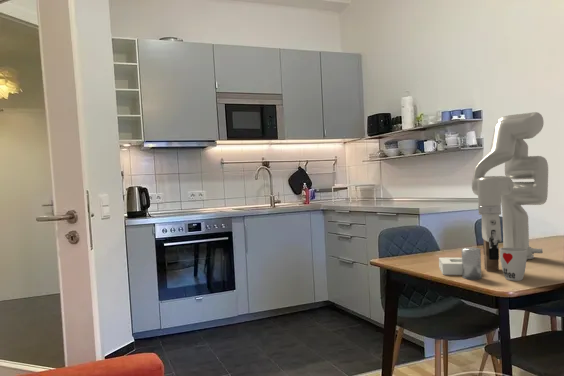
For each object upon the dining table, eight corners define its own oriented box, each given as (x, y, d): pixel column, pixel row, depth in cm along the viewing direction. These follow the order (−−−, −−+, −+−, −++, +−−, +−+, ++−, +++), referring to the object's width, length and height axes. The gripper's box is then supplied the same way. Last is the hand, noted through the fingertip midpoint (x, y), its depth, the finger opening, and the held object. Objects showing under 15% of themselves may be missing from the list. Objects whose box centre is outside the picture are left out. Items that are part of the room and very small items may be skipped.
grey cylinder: (479, 275, 152) (478, 247, 152) (483, 279, 146) (482, 250, 146) (461, 275, 153) (460, 247, 153) (464, 279, 148) (462, 250, 148)
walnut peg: (496, 268, 162) (495, 236, 161) (498, 271, 158) (497, 238, 158) (484, 268, 163) (483, 237, 162) (486, 271, 159) (485, 238, 159)
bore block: (472, 268, 165) (472, 257, 165) (478, 275, 153) (478, 263, 153) (439, 267, 168) (438, 257, 167) (442, 274, 156) (442, 263, 156)
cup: (495, 276, 149) (494, 248, 149) (517, 275, 150) (516, 246, 150) (509, 282, 141) (508, 251, 141) (533, 280, 142) (532, 250, 142)
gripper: (506, 212, 151) (508, 261, 151) (495, 208, 167) (496, 253, 168) (483, 212, 152) (485, 261, 153) (474, 209, 169) (475, 253, 169)
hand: (491, 257), depth 160 cm, fingers open, 8 cm apart
